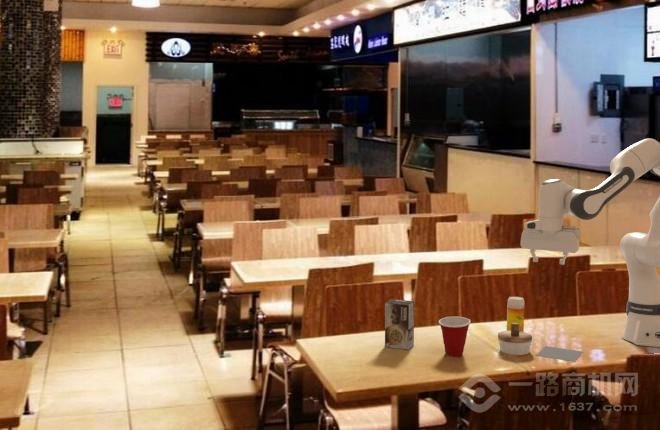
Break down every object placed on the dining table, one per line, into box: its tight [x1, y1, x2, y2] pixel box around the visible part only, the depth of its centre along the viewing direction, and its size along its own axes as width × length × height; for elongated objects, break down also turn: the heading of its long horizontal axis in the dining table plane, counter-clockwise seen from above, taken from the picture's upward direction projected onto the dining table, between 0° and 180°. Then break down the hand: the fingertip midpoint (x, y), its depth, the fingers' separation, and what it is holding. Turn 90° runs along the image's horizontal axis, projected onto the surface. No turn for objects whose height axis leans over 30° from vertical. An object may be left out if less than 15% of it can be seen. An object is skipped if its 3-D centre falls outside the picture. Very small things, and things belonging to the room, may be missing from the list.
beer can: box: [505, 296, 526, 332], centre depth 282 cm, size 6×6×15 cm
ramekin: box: [497, 337, 533, 356], centre depth 265 cm, size 11×11×5 cm
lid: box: [497, 323, 533, 343], centre depth 264 cm, size 12×12×5 cm
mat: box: [535, 345, 584, 363], centre depth 262 cm, size 13×13×1 cm
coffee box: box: [384, 298, 415, 350], centre depth 270 cm, size 9×6×16 cm
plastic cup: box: [438, 316, 471, 357], centre depth 262 cm, size 11×11×12 cm
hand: (548, 262), depth 275 cm, fingers open, 8 cm apart
